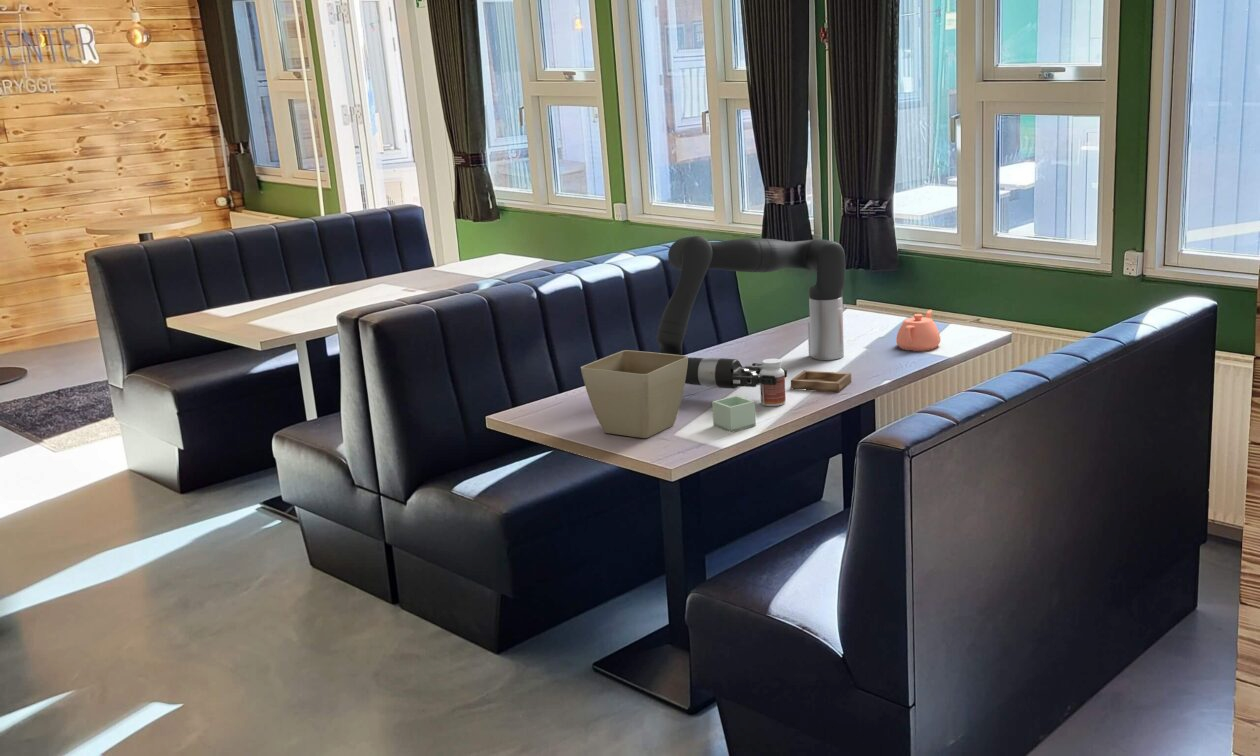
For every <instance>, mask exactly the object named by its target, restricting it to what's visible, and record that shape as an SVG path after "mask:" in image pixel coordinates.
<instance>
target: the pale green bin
mask: <svg viewBox="0 0 1260 756" xmlns="http://www.w3.org/2000/svg"><path fill="white" fill-rule="evenodd" d="M711 403H712V404H711V405H712V418H713V419H712V423H713V427H717V428H719V429H721V428H722V430H724V429H725V430H724V431H727V432H729V431H730V433H734V432H738V431H741V429H742V430H745V428H746V429H749V428H752V427H756V426H757V422H756V421H757V420H756V419H757V418H756V401H754V400H751V399H748V398H746V397H742V396H740V395H732V396H729V397H725V398H721V399H717V400H713V401H711ZM737 430H738V431H737ZM733 431H734V432H733Z"/></svg>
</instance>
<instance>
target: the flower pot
mask: <svg viewBox="0 0 1260 756" xmlns="http://www.w3.org/2000/svg"><path fill="white" fill-rule="evenodd" d="M688 358H689V356H688V355H683V354H682V355H674V354H664V353H659V352H651V351H640V350H632V349H631V350H630V349H629V350H628V349H625V350H623V349H622V350H621V351H617V352H616V353H612V354H610V355H607V356H605V357H603V358H600V359H598V360H594V361H592V362H590V363H587V364H585V365H581V366H580V369H581V370H580V371H581V375H582V376H581V377H582V379H583V383H584V386H585V387H584V388H585V390H586V393H587V395H588V399H589V402H590V405H591V407H592V410H593V411H594V413H595V414H594V415H595V416H596V419H597V420H598V423H599V426H600V428H601V429H602V431H603V433H605V434H612V435H618V436H627V437H633V438H641V439H647V438H650V437H652V436H654V435H656V434H659V433H661V432H662V431H665V430H666V429H668V428H671V427H672V426H674V425H675V423H676V419H677V415H678V414H679V410H680V406H681V403H682V398H683V394H684V389H685V384H686V383H685V379H686V373H687V365H688Z"/></svg>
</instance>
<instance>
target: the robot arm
mask: <svg viewBox="0 0 1260 756" xmlns="http://www.w3.org/2000/svg"><path fill="white" fill-rule="evenodd" d="M667 254H668V255H667V257H668V261H669V263H670V264H671V266H672V267H673V268H674V269H676V270H678V271H680V275H679V280H678V282H677V284H676V286H675V289H674V292H673V293H672V295H671V297H670V299H669V301H668V302H667V304H666V306H665V308H664V310H663V313H662V316H661V318H660V324H659V326H658V330H657V334H656V343H657V345H658V346H659V351H658V353H664V354H674V355H683V343H684V340H685V335H686V331H687V328H688V323H689V320H690V317H691V313H692V309H693V307H694V304H695V301H696V298H697V296H698V293H699V291H700V288H701V286H702V283H703V280H704V278H705V276H706V275H707V271H708V270H723V271H731V272H741V273H770V272H776V271H780V270H783V269H801V270H807V271H811V272H816V281H815V284H814V285H812V286H810V287H809V289H808V299H809V300H808V303H809V322H808V323H807V341H808V342H807V343H808V345H807V346H808V356H810V357H811V358H812V359H814V360H817V361H832V360H838V359H841V358H844V356H845V352H844V351H845V350H844V345H845V344H844V310H843V292H844V289H845V285H846V253H845V249H844V247H843V246H842V244H840V243H839V242H836V241H833V240H828V239H821V238H816V239H815V238H814V239H807V240H797V241H786V240H781V239H774V238H763V237H762V238H761V237H757V238H755V237H754V238H753V237H750V238H748V237H747V238H738V239H737V238H736V239H731V240H729V239H728V240H723V241H709V240H708V239H707V238H705V237H704V236H700V235H693V236H691V235H690V236H686V237H685V236H684V237H682V238H678V239H677V240H675V241H674V242H673V243H672V244H671V246H670V247H669V249H668V252H667ZM762 369H763V367H762V363H757V362H752V364H749V365H747V364H746V365H744V366H742V364H741V362H740V361H739V360H738V359H736V358H723V357H720V358H719V357H707V358H706V357H688V365H687V373H686V379H685V384H686V385H690V386H691V385H693V386H702V387H703V386H705V387H707V388H721V389H733V390H735V389H737V388H738V387H742V388H743V387H745V388H756V387H757V386H760V385H762V384H765V385H776V384H777V377H776V376H770V375H762V377H761V375H760V371H761V370H762ZM782 369H783V370H784V374H785V379H786V378H787V377H788V372H787V371H788V370H787V369H786V368H782Z"/></svg>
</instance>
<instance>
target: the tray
mask: <svg viewBox="0 0 1260 756" xmlns="http://www.w3.org/2000/svg"><path fill="white" fill-rule="evenodd" d="M851 383H852V373H849V372H834V371H817V370H805V369H804V370H802V371H801V372H800V373H798V374H797V375H796V376H794V377H793V378H792V379H790V389H791V388H793V389H792V390H796V389H806V390H805V391H810V390H816V391H815V392H826V393H840V392H842V391H843V390H844V389H845V388H847V386H849V385H851Z"/></svg>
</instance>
